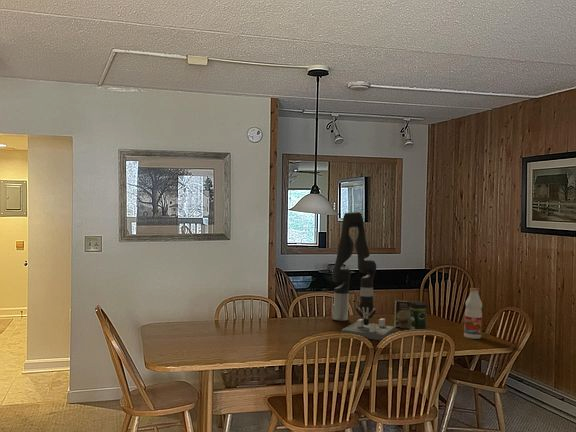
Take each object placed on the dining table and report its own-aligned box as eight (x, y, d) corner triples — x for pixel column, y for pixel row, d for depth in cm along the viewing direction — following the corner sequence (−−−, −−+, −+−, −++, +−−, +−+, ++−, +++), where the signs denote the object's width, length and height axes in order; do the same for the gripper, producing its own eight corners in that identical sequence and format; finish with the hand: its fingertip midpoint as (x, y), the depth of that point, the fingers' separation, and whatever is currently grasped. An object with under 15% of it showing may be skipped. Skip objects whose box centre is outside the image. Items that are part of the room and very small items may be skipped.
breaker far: (378, 326, 331) (378, 319, 331) (381, 324, 336) (381, 318, 336) (382, 326, 330) (382, 320, 330) (385, 325, 335) (385, 318, 335)
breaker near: (369, 331, 315) (369, 324, 315) (372, 330, 320) (372, 323, 320) (373, 332, 314) (373, 325, 314) (376, 330, 319) (376, 323, 319)
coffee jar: (419, 331, 338) (420, 300, 338) (428, 334, 331) (429, 302, 330) (406, 332, 334) (407, 300, 333) (414, 335, 327) (415, 302, 326)
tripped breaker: (356, 326, 328) (357, 320, 328) (359, 325, 332) (359, 318, 332) (360, 327, 327) (361, 320, 327) (363, 325, 331) (363, 319, 331)
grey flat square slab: (341, 334, 321) (341, 329, 321) (356, 326, 344) (356, 321, 344) (382, 340, 310) (382, 334, 310) (395, 331, 334) (395, 326, 334)
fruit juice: (481, 336, 329) (483, 288, 329) (480, 339, 320) (482, 290, 320) (464, 334, 333) (466, 286, 332) (463, 337, 324) (465, 288, 323)
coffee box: (394, 327, 345) (395, 301, 345) (393, 325, 352) (394, 299, 352) (410, 328, 345) (411, 302, 344) (409, 326, 351) (410, 300, 351)
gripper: (353, 294, 327) (353, 325, 327) (375, 296, 322) (375, 327, 322) (357, 293, 334) (357, 322, 334) (379, 295, 329) (379, 325, 329)
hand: (366, 325), depth 328 cm, fingers closed
